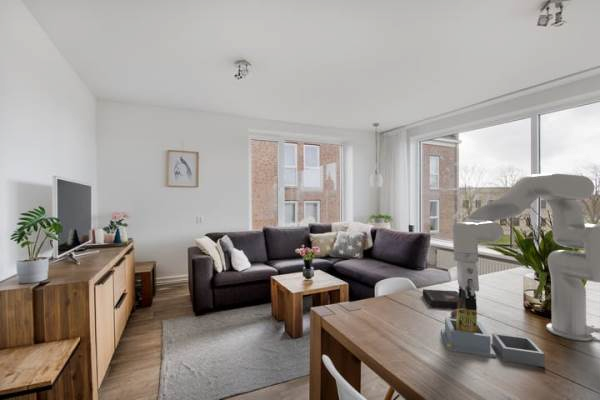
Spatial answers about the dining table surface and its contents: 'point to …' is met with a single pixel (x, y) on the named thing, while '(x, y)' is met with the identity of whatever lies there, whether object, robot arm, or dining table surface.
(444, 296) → the portable cd player
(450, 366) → the dining table surface
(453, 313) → the video game controller
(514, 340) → the grey square frame
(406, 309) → the dining table surface
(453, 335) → the socket dock
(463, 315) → the sauce bottle
